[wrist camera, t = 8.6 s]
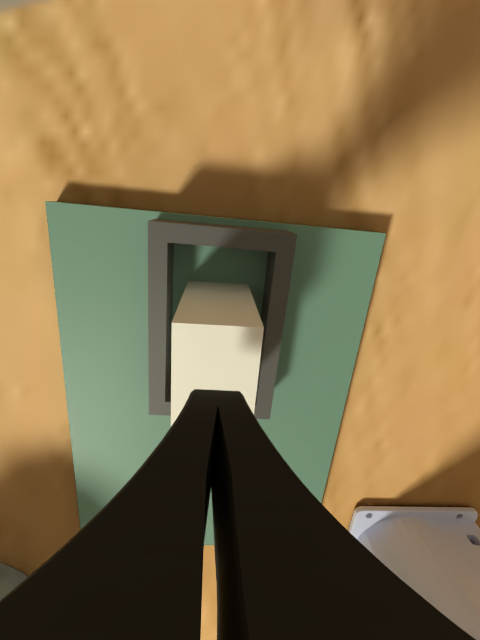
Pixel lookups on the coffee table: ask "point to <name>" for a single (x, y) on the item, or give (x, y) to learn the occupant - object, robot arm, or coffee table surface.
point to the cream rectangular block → (215, 342)
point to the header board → (156, 329)
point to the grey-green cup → (9, 579)
